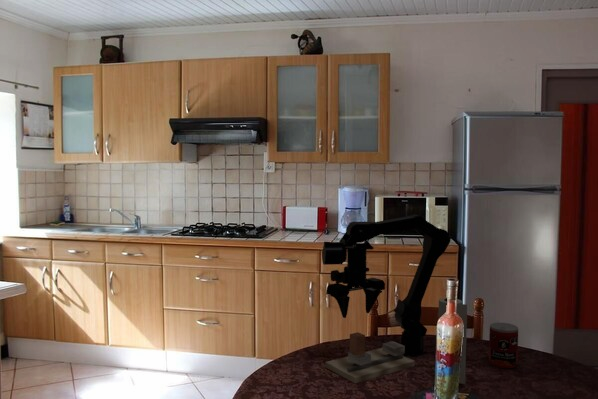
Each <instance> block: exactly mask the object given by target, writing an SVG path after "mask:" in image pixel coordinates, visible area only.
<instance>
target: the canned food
mask: <svg viewBox="0 0 598 399" xmlns="http://www.w3.org/2000/svg"><path fill="white" fill-rule="evenodd" d="M488 335H489V340H488V341H489V342H488V343H489V344H488V346H489V347H488V360H489V363H490V364H491V365H492V366H494V367H495V368H499V369H514V368H516V367H517V365H518V349H519V348H518V347H519V328H518V326H517V325H515V324H511V323H507V322H492V323H490V324H489V334H488Z"/></svg>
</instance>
